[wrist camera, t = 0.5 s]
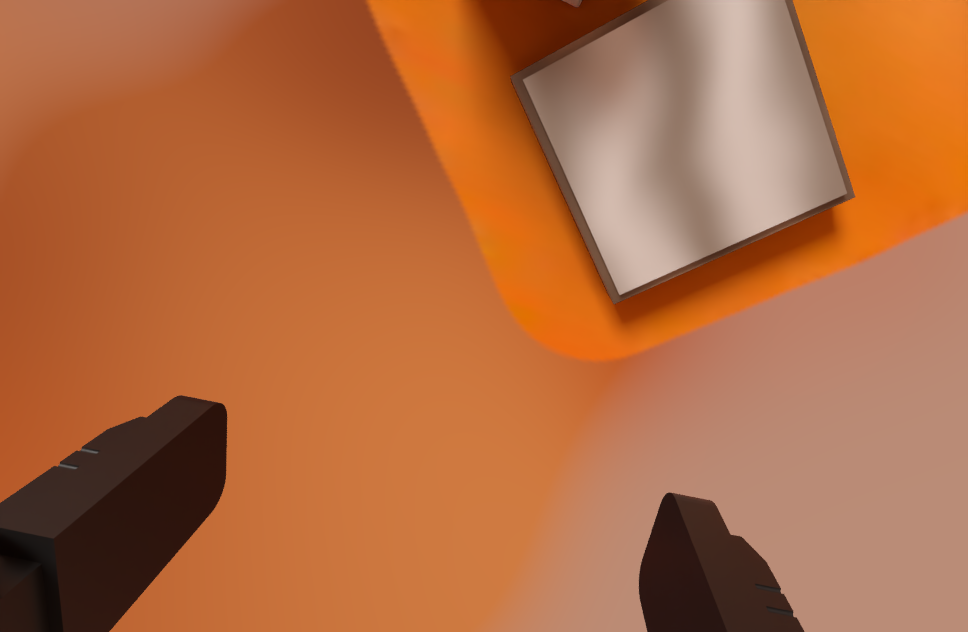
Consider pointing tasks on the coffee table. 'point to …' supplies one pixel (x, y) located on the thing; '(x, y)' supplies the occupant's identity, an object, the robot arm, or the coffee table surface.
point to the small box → (573, 2)
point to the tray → (684, 134)
